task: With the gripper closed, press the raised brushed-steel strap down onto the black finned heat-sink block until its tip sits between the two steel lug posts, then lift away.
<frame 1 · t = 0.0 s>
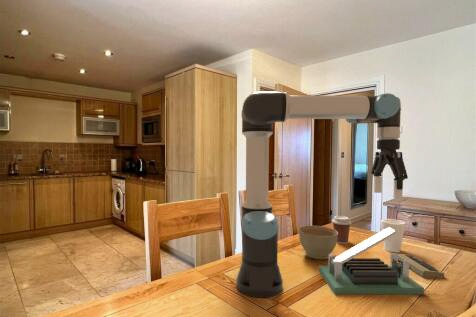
hand: (387, 195, 102), 28 cm above the table, tool pointing down, fingers open, 13 cm apart
coffee cup: (341, 242, 133), on the table
foam cup: (392, 250, 122), on the table
steel strap: (362, 247, 92), point 12 cm above the table, hinge at 30.0°
heat sink mount: (366, 281, 92), resting on circuit board
circuit board: (366, 281, 92), on the table
computer: (418, 269, 103), on the table
planter bowl: (317, 256, 115), on the table
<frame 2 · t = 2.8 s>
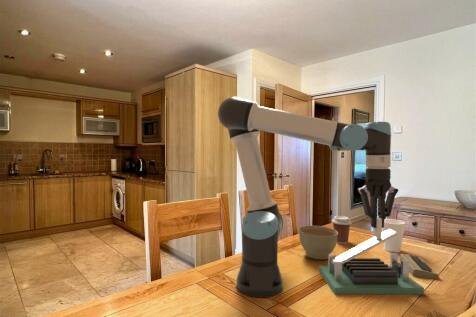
hand: (377, 236, 92), 15 cm above the table, tool pointing down, fingers closed
steel strap: (363, 247, 92), point 12 cm above the table, hinge at 28.6°, touching gripper
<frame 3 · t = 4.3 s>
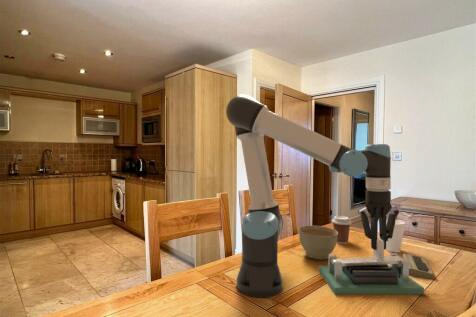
hand: (378, 258, 92), 8 cm above the table, tool pointing down, fingers closed, pressing on steel strap
steel strap: (366, 261, 92), point 7 cm above the table, hinge at 3.1°, touching gripper
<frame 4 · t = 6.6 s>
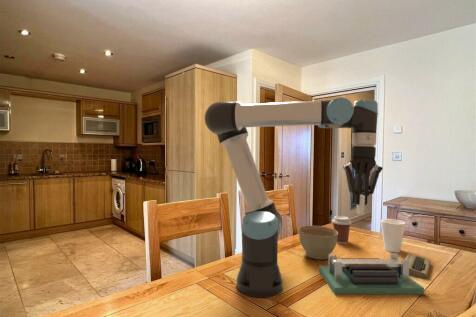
hand: (360, 213, 93), 23 cm above the table, tool pointing down, fingers closed
steel strap: (366, 262, 92), point 7 cm above the table, hinge at 0.2°
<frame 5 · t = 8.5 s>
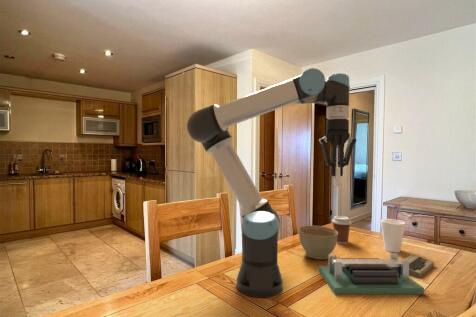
hand: (336, 185, 96), 32 cm above the table, tool pointing down, fingers closed
at the end: steel strap at +0° (first picture: +30°); the gripper is holding nothing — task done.
